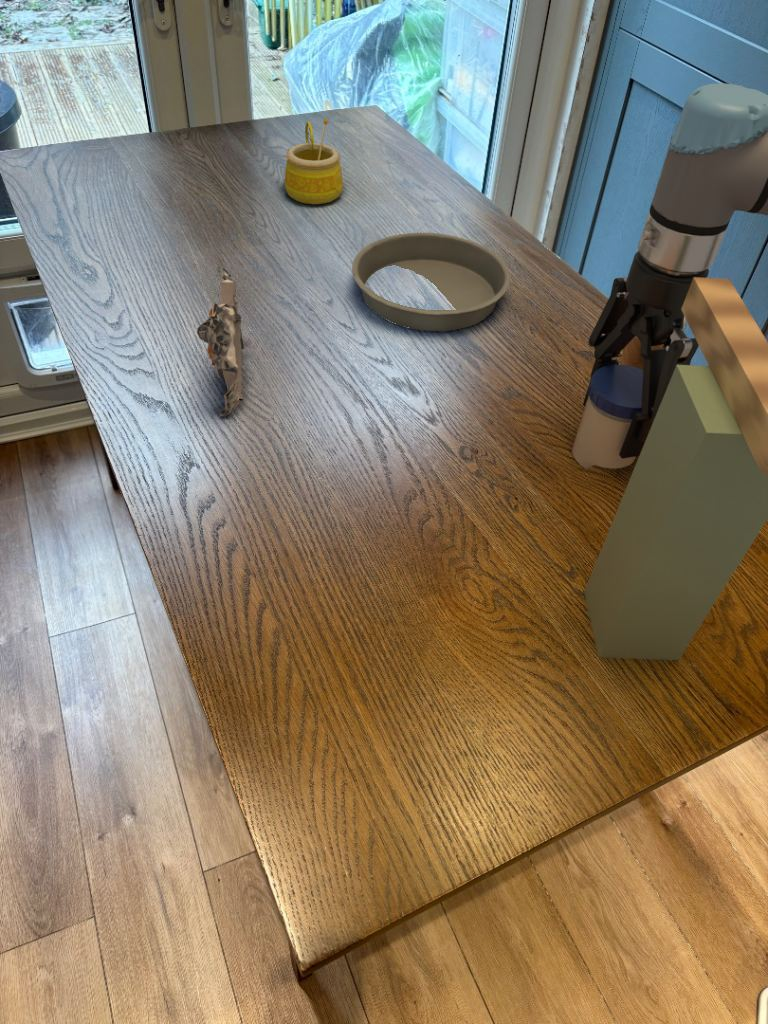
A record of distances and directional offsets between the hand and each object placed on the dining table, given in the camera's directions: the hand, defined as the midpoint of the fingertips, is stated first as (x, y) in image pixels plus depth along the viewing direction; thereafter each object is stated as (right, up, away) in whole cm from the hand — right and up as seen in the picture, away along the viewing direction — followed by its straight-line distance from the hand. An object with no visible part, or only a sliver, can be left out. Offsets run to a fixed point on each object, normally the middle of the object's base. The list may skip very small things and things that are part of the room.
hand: (611, 429), depth 92 cm
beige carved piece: (-49, +7, +9) cm, 50 cm away
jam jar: (0, -3, +3) cm, 4 cm away
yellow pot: (-41, +50, +50) cm, 82 cm away
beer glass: (+6, +6, +12) cm, 15 cm away
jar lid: (0, +4, -5) cm, 6 cm away
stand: (-3, -22, -16) cm, 28 cm away
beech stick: (-2, 0, -36) cm, 36 cm away
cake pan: (-21, +24, +27) cm, 42 cm away
